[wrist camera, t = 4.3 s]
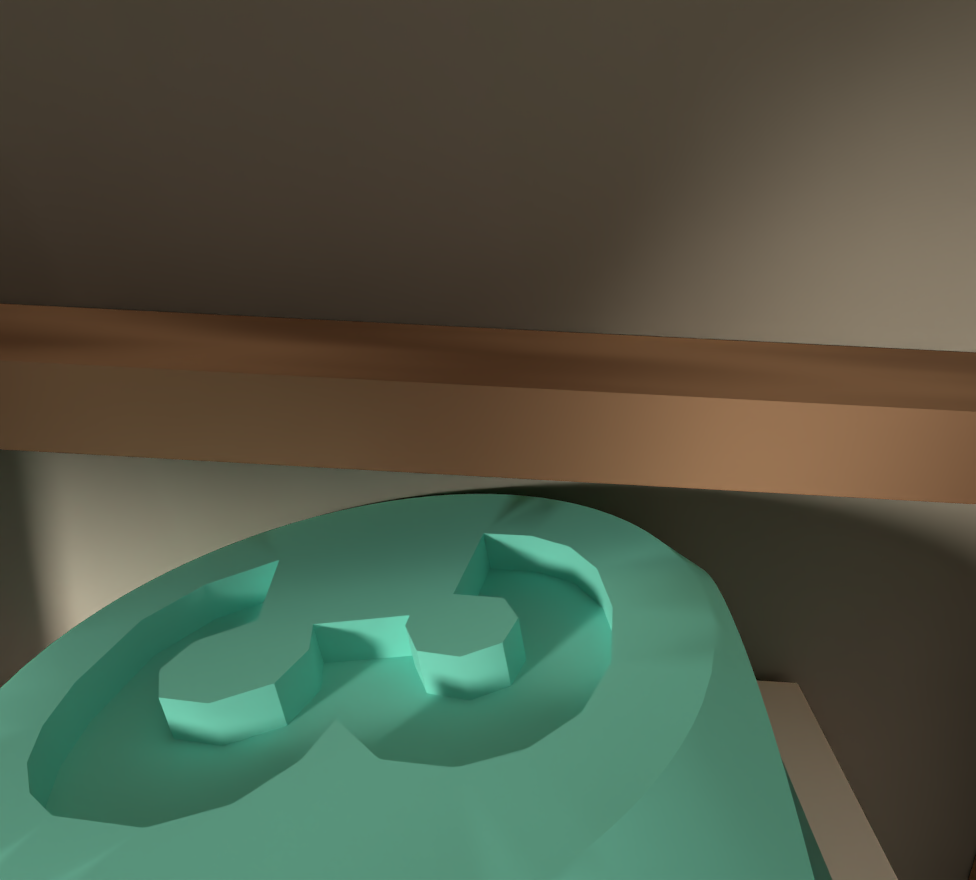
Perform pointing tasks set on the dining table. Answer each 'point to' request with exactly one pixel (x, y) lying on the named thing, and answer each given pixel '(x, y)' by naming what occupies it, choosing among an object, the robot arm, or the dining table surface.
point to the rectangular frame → (491, 402)
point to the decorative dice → (403, 712)
